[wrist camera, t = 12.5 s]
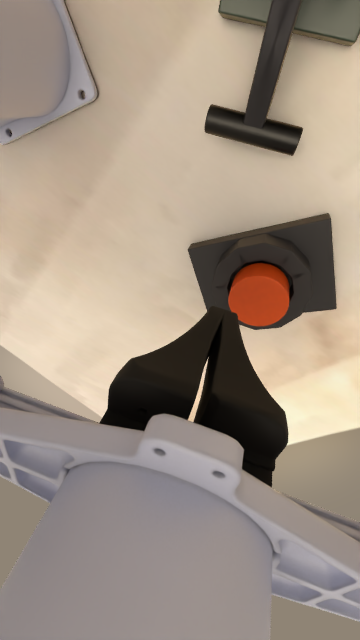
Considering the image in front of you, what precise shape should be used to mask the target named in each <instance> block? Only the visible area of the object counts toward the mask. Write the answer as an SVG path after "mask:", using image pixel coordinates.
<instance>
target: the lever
mask: <svg viewBox="0 0 360 640" xmlns="http://www.w3.org/2000/svg"><path fill="white" fill-rule="evenodd" d="M301 3H302V0H272V3H271V7H270V11H269V15H268V20H267V24H266V28H265V32H264V36H263V41H262V45H261V49H260V53H259V57H258V62H257V66H256V70H255V74H254V78H253V83H252V87H251V91H250V95H249V99H248V104H247V108H246V112H245V113H244V112H240V111H236V110H232V109H228V108H224V107H220V106H216V105H213V104H212V105H211V106H210V107H209V110H208V113H207V117H206V122H205V132H206V133H208V134H212V135H216V136H220V137H223V138H227V139H231V140H235V141H238V142H242V143H246V144H250V145H253V146H257V147H261V148H265V149H268V150H272V151H276V152H280V153H283V154H287V155H291V156H293V154H294V153H295V150H296V148H297V146H298V143H299V140H300V138H301V135H302V131H303V128H302V127H299V126H295V125H291V124H287V123H283V122H279V121H275V120H271V119H267V116H268V113H269V110H270V106H271V103H272V100H273V96H274V93H275V90H276V87H277V83H278V80H279V77H280V73H281V70H282V67H283V63H284V60H285V57H286V53H287V50H288V47H289V43H290V40H291V37H292V33H293V30H294V27H295V23H296V20H297V17H298V13H299V10H300V7H301Z"/></svg>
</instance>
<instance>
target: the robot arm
mask: <svg viewBox="0 0 360 640" xmlns="http://www.w3.org/2000/svg"><path fill="white" fill-rule="evenodd" d="M82 90H83V91H84V93H85V99H83V98H82V96H81V92H82ZM96 97H97V89H96V86H95V83H94V81H93V78H92V75H91V73H90V70H89V67H88V65H87V62H86V59H85V57H84V54H83V51H82V49H81V46H80V43H79V41H78V38H77V35H76V33H75V30H74V27H73V24H72V22H71V19H70V16H69V14H68V11H67V8H66V6H65V3H64V0H0V144H1V145H4V144H8V143H10V142H12V141H14V140H16V139H18V138H20V137H22V136H24V135H26V134H28V133H30V132H32V131H34V130H36V129H38V128H40V127H42V126H44V125H46V124H48V123H50V122H52V121H54V120H56V119H58V118H60V117H62V116H64V115H66V114H68V113H70V112H72V111H74V110H76V109H78V108H80V107H82V106H84V105H86V104H88V103H90V102H92V101H94V100H95V99H96ZM9 130H11V132H12V135H11V134H10V132H9ZM208 357H209V358H208ZM207 359H208V364H207V369H206V374H205V380H204V385H203V390H202V395H201V399H200V402H199V405H198V409H197V412H196V416H195V419H194V422H191V421H188V418H189V415H190V412H191V410H192V407H193V404H194V402H195V399H196V395H197V392H198V389H199V384H200V381H201V377H202V373H203V369H204V366H205V364H206V361H207ZM287 443H288V426H287V420H286V415H285V411H284V410H283V409H282V408H281V407H280V406H279V405H278V403H277V402H276V401H275V400H274V399H273V398H272V397H271V395H270V394H269V393H268V391H267V390H266V389H265V387H264V386H263V384H262V382H261V381H260V379H259V378H258V376H257V374H256V372H255V371H254V369H253V367H252V364H251V362H250V360H249V358H248V355H247V352H246V350H245V347H244V344H243V340H242V337H241V333H240V328H239V322H238V315H237V313H234V312H231V311H228V310H225V309H222V308H219V307H216V306H211V307H210V309H209V310H208V312H207V313H206V314H205V315H204V316H203V318H202V319H201V320H200V321H199V322H198V323H197V324H196V325H194V326H193V327H192V328H191V329H190V330H189V331H187V332H186V333H185V334H183V335H182V336H181V337H179V338H178V339H176V340H175V341H173V342H171V343H169V344H168V345H166V346H164V347H162V348H160V349H158V350H155V351H153V352H150V353H148V354H145V355H142V356H138V357H135V358H131V359H130V360H129V361H128V362H127V363H126V364H125V365H124V367H123V368H122V369H121V370H120V371H119V373H118V374H117V375H116V377H115V378H114V380H113V382H112V383H111V385H110V388H109V396H108V409H107V411H106V413H105V414H104V416H103V418H102V420H101V421H100V423H98V422H95V421H92V420H90V419H87V418H84V417H82V416H79V415H77V414H74V413H71V412H69V411H66V410H63V409H61V408H58V407H56V406H53V405H51V404H47V403H45V402H43V401H40V400H37V399H35V398H32V397H30V396H27V395H24V394H22V393H19V392H16V391H14V390H11V389H8V388H6V387H4V382H3V379H2V377H1V376H0V476H1V477H3V478H5V479H7V480H8V481H10V482H12V483H14V484H16V485H18V486H19V487H21V488H23V489H25V490H27V491H28V492H30V493H32V494H34V495H36V496H38V497H39V498H41V499H43V500H45V501H47V502H49V503H50V505H49V506H48V508H47V510H46V512H45V513H44V515H43V517H42V518H41V520H40V522H39V523H38V525H37V527H36V529H35V530H34V532H33V534H32V536H31V537H30V539H29V541H28V543H27V544H26V546H25V548H24V549H23V551H22V553H21V555H20V556H19V558H18V560H17V561H16V563H15V565H14V567H13V569H12V570H11V572H10V573H9V575H8V577H7V579H6V580H5V582H4V584H3V586H2V587H1V589H0V640H270V628H271V625H270V624H271V595H275V596H278V597H281V598H285V599H288V600H291V601H294V602H298V603H301V604H304V605H308V606H311V607H315V608H318V609H321V610H324V611H328V612H331V613H334V614H337V615H340V616H344V617H346V618H350V619H353V620H356V621H359V622H360V522H358V521H355V520H353V519H350V518H347V517H345V516H342V515H339V514H337V513H334V512H331V511H329V510H326V509H323V508H321V507H318V506H316V505H313V504H310V503H308V502H305V501H303V500H300V499H297V498H295V497H292V496H289V495H287V494H284V493H281V492H279V491H276V490H274V489H273V488H272V471H274V469H275V459H276V458H277V457H278V455H279V454H280V453H281V452H282V451H283V449H284V448H285V447H286V445H287Z"/></svg>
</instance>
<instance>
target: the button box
mask: <svg viewBox="0 0 360 640" xmlns="http://www.w3.org/2000/svg"><path fill="white" fill-rule="evenodd" d="M188 252H189V255H190V258H191V261H192V264H193V268H194V271H195V274H196V277H197V280H198V283H199V287H200V290H201V293H202V296H203V299H204V302H205V305H206V309H207V312H208V310H209V309H210V307H211V306H216V307H219V308H222V309H225V310H228V311H231V309H230V307H229V303H228V298H229V293H230V290H231V286H232V283H233V280H234V278H235V276H236V274H237V273H238V272H239V271H240V270H241V269H243V268H244V267H246V266H248V265H251V264H255V263H267V264H271V265H273V266H275V267H277V268H279V269H280V270H281V271H282V272H283V273H284V274H285V276H286V277H287V279H288V283H289V307H288V310H287V312H286V314H285V315H284V316H283V317H282V318H281V319H280V320H279V321H277V322H275V323H273V324H271V325H267V326H252V325H248V324H246V323H244V322H242V321H240V320H239V319H238V322H239V325H242V326H245V327H248V328H251V329H254V330H255V329H256V330H258V329H269V328H279V327H282V326H283V325H285V324H287V323H289V322H290V321H292V320H294V319H295V318H297V317H299V316H300V315H301V314H302V313H304V312H313V311H323V310H332V309H336V308H337V307H336V292H335V276H334V260H333V244H332V228H331V218H330V215H329V214H323V215H319V216H314V217H310V218H305V219H301V220H296V221H292V222H288V223H283V224H279V225H274V226H270V227H265V228H261V229H256V230H252V231H247V232H243V233H238V234H234V235H229V236H225V237H220V238H216V239H211V240H207V241H202V242H198V243H193V244H191V245H190V247H189V248H188ZM231 312H232V311H231Z"/></svg>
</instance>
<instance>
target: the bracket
mask: <svg viewBox="0 0 360 640" xmlns="http://www.w3.org/2000/svg"><path fill="white" fill-rule="evenodd" d="M271 3H272V0H220V5H219V13H220V15H221V16H222V17H223V18H227V19H232V20H236V21H241V22H245V23H250V24H254V25H258V26H263V27H266V24H267V20H268V15H269V11H270V7H271ZM293 33H294V34H299V35H303V36H308V37H312V38H317V39H321V40H325V41H330V42H334V43H339V44H343V45H348V46H351V45H353V44H354V43H355V42H356V40H357V38H358V35H359V33H360V0H302V3H301V7H300V10H299V13H298V17H297V20H296V23H295V27H294V30H293Z"/></svg>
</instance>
